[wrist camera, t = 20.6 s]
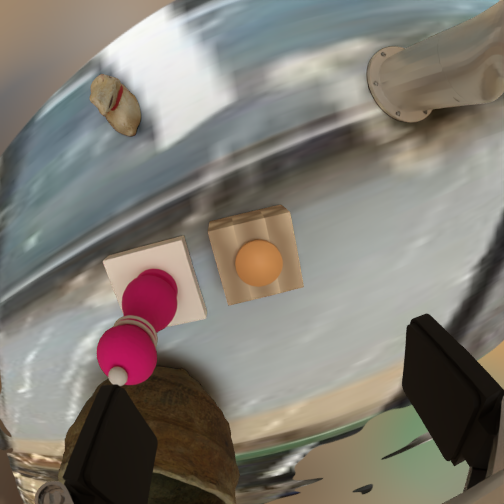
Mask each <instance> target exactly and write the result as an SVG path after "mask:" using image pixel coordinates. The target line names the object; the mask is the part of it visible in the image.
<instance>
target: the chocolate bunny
mask: <svg viewBox="0 0 504 504" xmlns="http://www.w3.org/2000/svg"><path fill="white" fill-rule="evenodd" d="M90 101H91V102H92V103H93V104H94V105H95V106H96V107H98V109H99V112H100V113H101V114H102V115H103V116H105V117H106V119H107V120H108V122H109V123H110V125H111V126H112V127H113V128H114V129H115V130H116V131H117V132H119V133H121V134H124V135H127V136H134V135H135V134H136V130H137V127H138V125H139V124H140V120H141V113H140V108H139V104H138V101H137V99H136V97H135V96H134V95H133V94H132V93H130V91H128V90H127V88H126V87H125V86H124V85H123V84H121V83H120V81H119V79H117V78H114V77H111V76H108V75H104V74H101V75H99V76H98V77H97V78H95V80H94V81H93V82H92V84H91V95H90Z"/></svg>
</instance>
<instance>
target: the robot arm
mask: <svg viewBox="0 0 504 504" xmlns="http://www.w3.org/2000/svg"><path fill="white" fill-rule="evenodd" d="M367 78H368V84H369V88H370V91H371V93H372V95H373V97H374V99H375V101H376V102H377V104H378V105H379V106H380V108H381V109H382V110H383V111H384V112H386V113H387V114H388V115H389V116H391V117H392V118H394V119H396V120H398V121H402V122H418V121H421V120H423V119H424V118H426V117H427V116H428V115H429V114H430V113H431V111H432V109H439V108H446V107H454V106H463V105H473V104H483V103H489V102H492V101H494V100H496V99H497V98H499V97H500V96H501V95H502V93H503V92H504V0H501V1H499V2H498V3H496V4H495V5H493V6H492V7H490V8H489V9H487V10H486V11H484V12H482V13H481V14H479V15H477V16H475V17H474V18H472V19H469V20H467V21H465V22H463V23H461V24H459V25H457V26H454V27H452V28H449V29H447V30H445V31H443V32H440V33H438V34H436V35H434V36H431V37H429V38H427V39H425V40H423V41H420V42H418V43H416V44H414V45H412V46H410V47H408V48H406V49H405V48H402V47H396V46H391V47H386V48H383V49H381V50H380V51H378V52H377V53H376V54H374V56H373V57H372V58H371V60H370V63H369V65H368V71H367ZM402 387H403V390H404V392H405V394H406V396H407V397H408V399H409V400H410V402H411V404H412V405H413V406H414V408H415V410H416V412H417V413H418V415H419V416H420V418H421V419H422V421H423V423H424V425H425V426H426V428H427V430H428V431H429V433H430V435H431V436H432V438H433V440H434V441H435V443H436V445H437V446H438V448H439V450H440V452H441V453H442V455H443V457H444V458H445V459H446V460H447V461H450V460H451V462H452V463H453V465H454V466H456V465H457V464H459V463H461V462H463V461H464V460H466V462H467V463H468V465H469V467H470V468H469V472H468V476H467V480H466V483H465V487H464V490H463V493H462V494H459V495H458V496H456V497H454V498H452V499H450V500H448V501H446V502H444V503H442V504H504V390H503V389H502V388H501V386H500V385H499V384H498V383H497V382H496V381H495V380H494V379H493V378H492V377H491V375H490V374H489V373H488V372H487V371H486V370H485V369H484V368H483V367H482V366H481V365H480V364H479V363H478V362H477V361H476V360H475V359H474V357H473V356H472V355H471V354H470V353H469V352H468V351H467V350H466V349H465V348H464V347H463V346H462V345H460V344H459V343H458V342H457V341H456V340H455V339H454V338H453V337H452V336H451V335H450V334H449V333H448V332H447V331H446V330H445V329H444V328H443V327H442V326H441V325H440V324H439V323H438V322H437V321H436V320H435V319H434V318H433V317H432V316H431V315H429V314H424V315H421V316H419V317H416V318H413V319H412V320H411V322H410V325H408V326H407V330H406V346H405V359H404V370H403V379H402ZM157 446H158V441H157V437H156V436H155V434H154V433H153V431H152V430H151V428H150V427H149V425H148V424H147V423H146V421H145V420H144V418H143V417H142V415H141V414H140V412H139V411H138V409H137V408H136V406H135V404H134V403H133V401H132V400H131V398H130V397H129V395H128V393H127V392H126V390H125V389H124V388H121V387H120V386H119V385H118V384H113V385H103V386H101V387H100V389H99V391H98V393H97V395H96V398H95V400H94V402H93V404H92V407H91V409H90V411H89V413H88V416H87V418H86V420H85V423H84V425H83V427H82V430H81V432H80V435H79V437H78V439H77V442H76V444H75V447H74V449H73V452H72V454H71V457H70V459H69V462H68V465H67V467H66V470H65V472H64V475H63V479H64V480H65V482H64V484H62V483H61V482H58V481H50V482H47V483H45V484H43V485H42V486H41V487H40V488H39V489H38V490H37V493H36V495H35V500H34V501H35V504H148V497H149V491H150V485H151V479H152V473H153V468H154V462H155V457H156V451H157Z"/></svg>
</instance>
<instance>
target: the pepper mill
mask: <svg viewBox="0 0 504 504" xmlns="http://www.w3.org/2000/svg"><path fill="white" fill-rule="evenodd" d="M177 294H178V289H177V285H176V282H175V280H174V279H173V277H172V276H171V275H170V274H168V273H167V272H165V271H163V270H160V269H148V270H145V271H143V272H142V273H140V274H139V276H138V277H137V278H135V279H134V280H132V281H131V282H130V283H129V284H128V285H127V287H126V289H125V291H124V293H123V296H122V310H123V314H124V316H123V317H121V318H119V319H118V320H117V321H116V322H115V324H114V326H113V327H112V328H110V329H109V330H107V331H106V332H105V333H104V334H103V335H102V337H101V338H100V340H99V343H98V346H97V360H98V363H99V365H100V367H101V369H102V370H103V372H104V373H105V374H106V375H107V376H108V378H109V380H110V382H111V383H112V384H118V385H119V386H122V385H124V384H125V385H136V384H139V383H142V382H144V381H145V380H147V379H148V378H149V377H150V376H151V374H152V373H153V371H154V369H155V367H156V363H157V351H156V346H157V342H158V338H157V332H158V331H160V330H162V329H164V328H165V327H167V326H168V325H169V323H170V322H171V321H172V320H173V318H174V316H175V314H176V311H177V305H178V304H177Z"/></svg>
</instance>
